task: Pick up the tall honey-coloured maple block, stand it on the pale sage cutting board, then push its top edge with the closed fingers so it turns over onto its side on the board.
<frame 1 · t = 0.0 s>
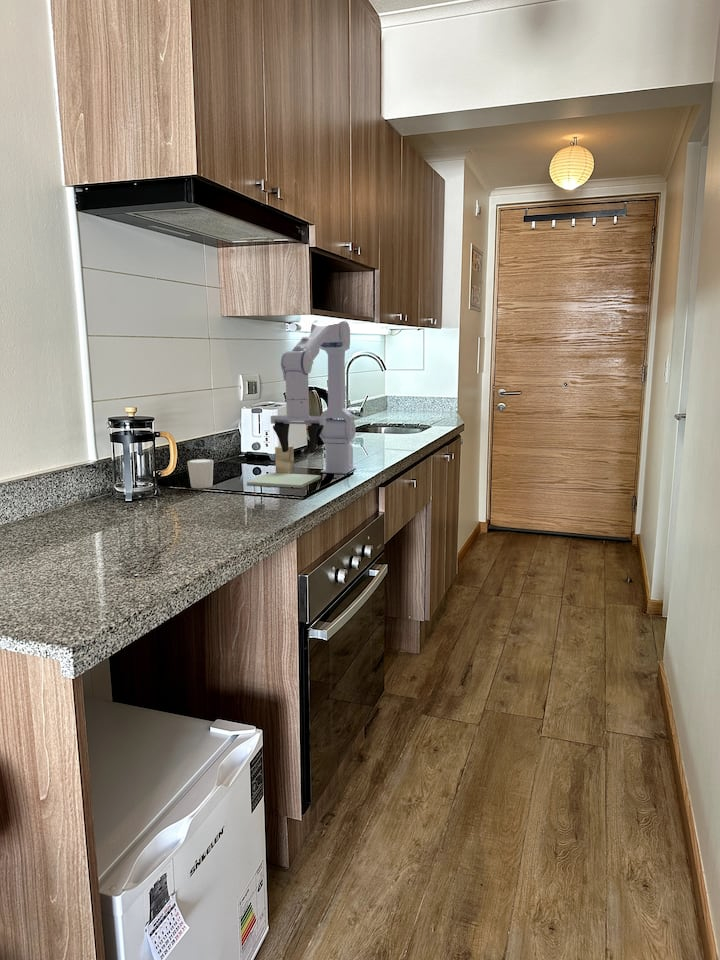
hand: (299, 452, 173), 10 cm above the worktop, tool pointing down, fingers open, 7 cm apart
maple block: (285, 473, 199), on the worktop
cutting board: (284, 481, 187), on the worktop
light grey cup: (201, 486, 182), on the worktop
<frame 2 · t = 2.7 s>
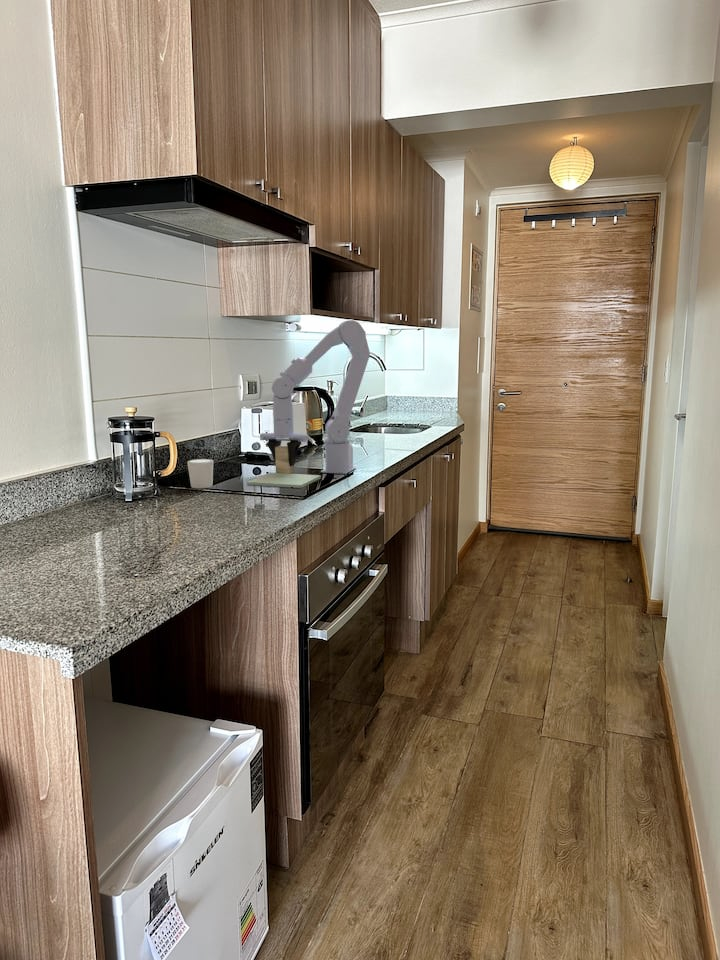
hand: (284, 465, 198), 2 cm above the worktop, tool pointing down, fingers closed on maple block, 4 cm apart
maple block: (285, 473, 199), on the worktop, touching gripper
everything else where it was.
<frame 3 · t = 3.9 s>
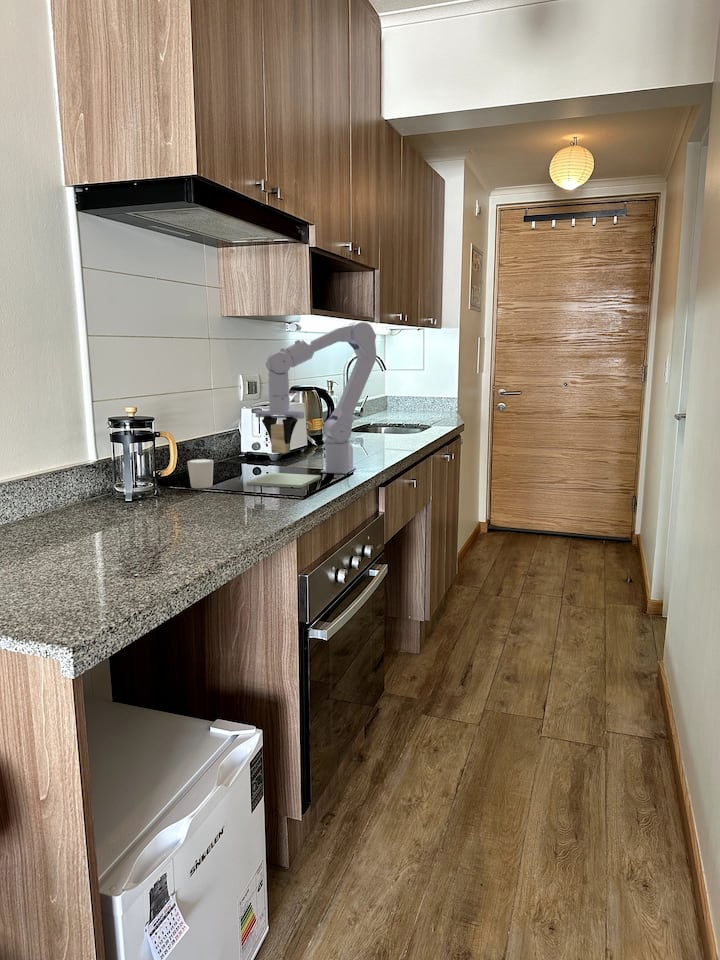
hand: (280, 443, 194), 9 cm above the worktop, tool pointing down, fingers closed on maple block, 4 cm apart
maple block: (280, 452, 195), point 7 cm above the worktop, touching gripper
everything else where it was.
when the fingers open (5 cm above the worktop, at t = 5.4 s): maple block drops 1 cm, resting on cutting board.
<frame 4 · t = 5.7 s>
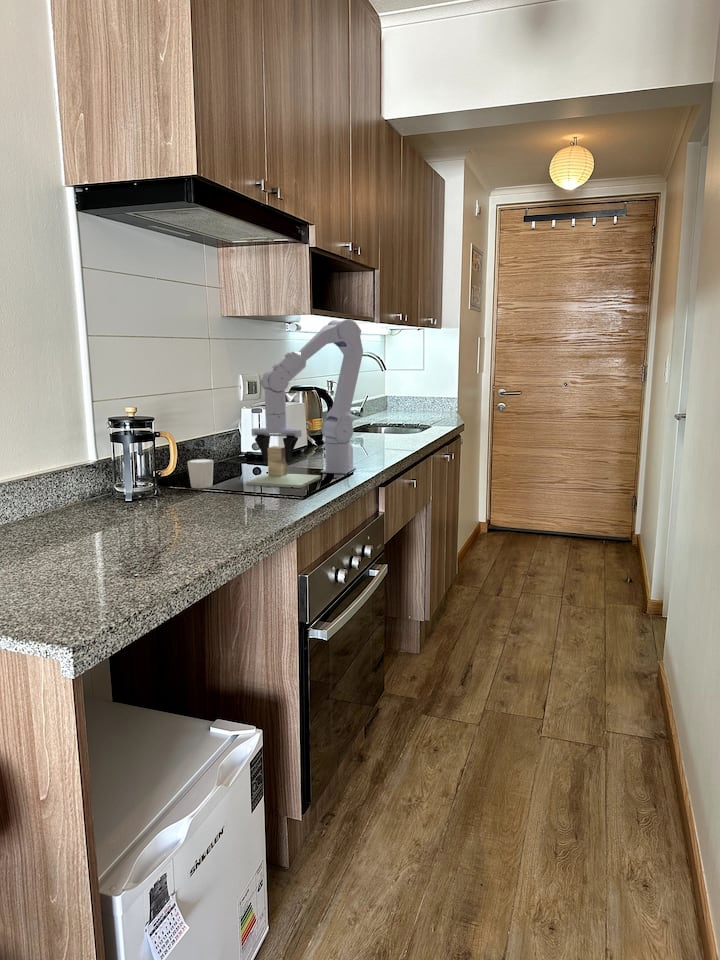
hand: (277, 461, 191), 5 cm above the worktop, tool pointing down, fingers open, 6 cm apart
maple block: (278, 475, 192), point 1 cm above the worktop, touching cutting board
everything else where it was.
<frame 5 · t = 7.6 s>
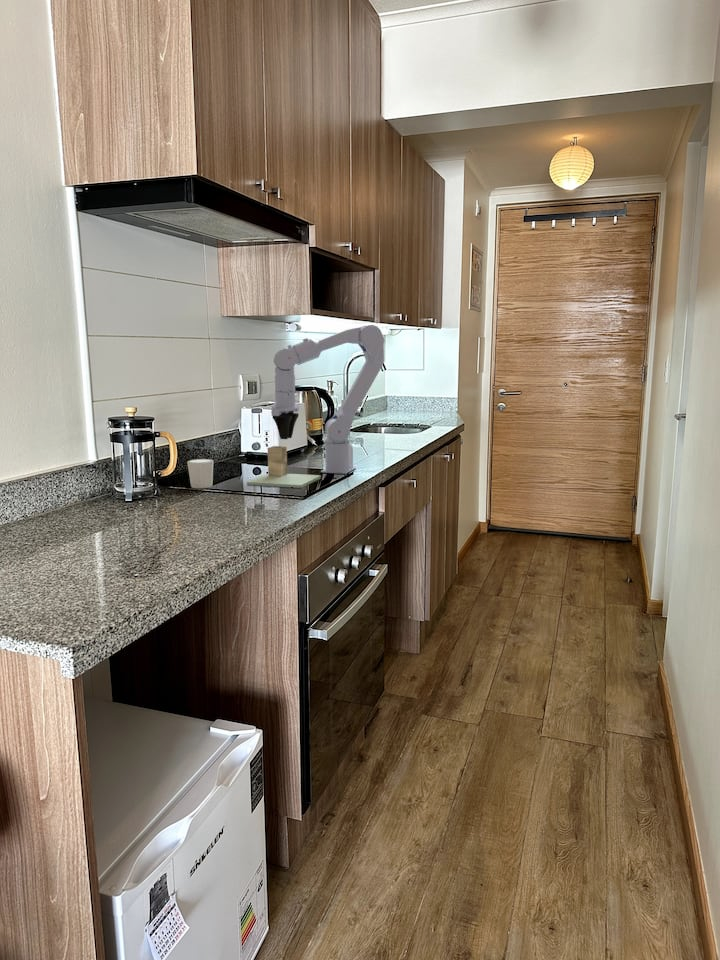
hand: (286, 438, 196), 10 cm above the worktop, tool pointing down, fingers closed
nothing on the worktop moved.
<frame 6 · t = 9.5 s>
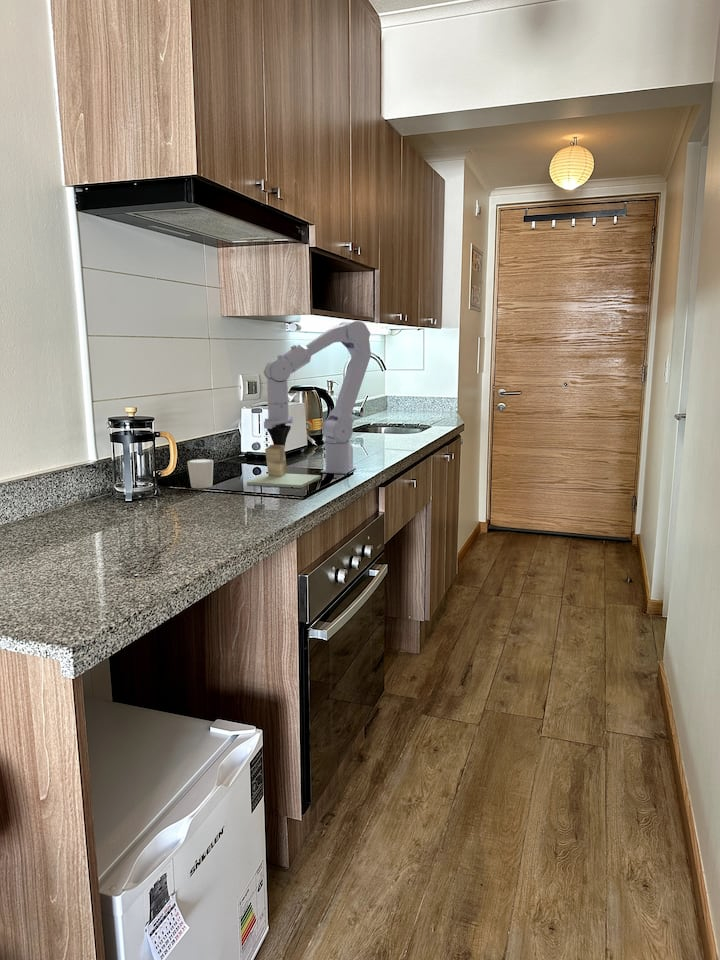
hand: (279, 451, 192), 7 cm above the worktop, tool pointing down, fingers closed
maple block: (277, 473, 192), point 1 cm above the worktop, tilted 11°, touching cutting board
everything else where it was.
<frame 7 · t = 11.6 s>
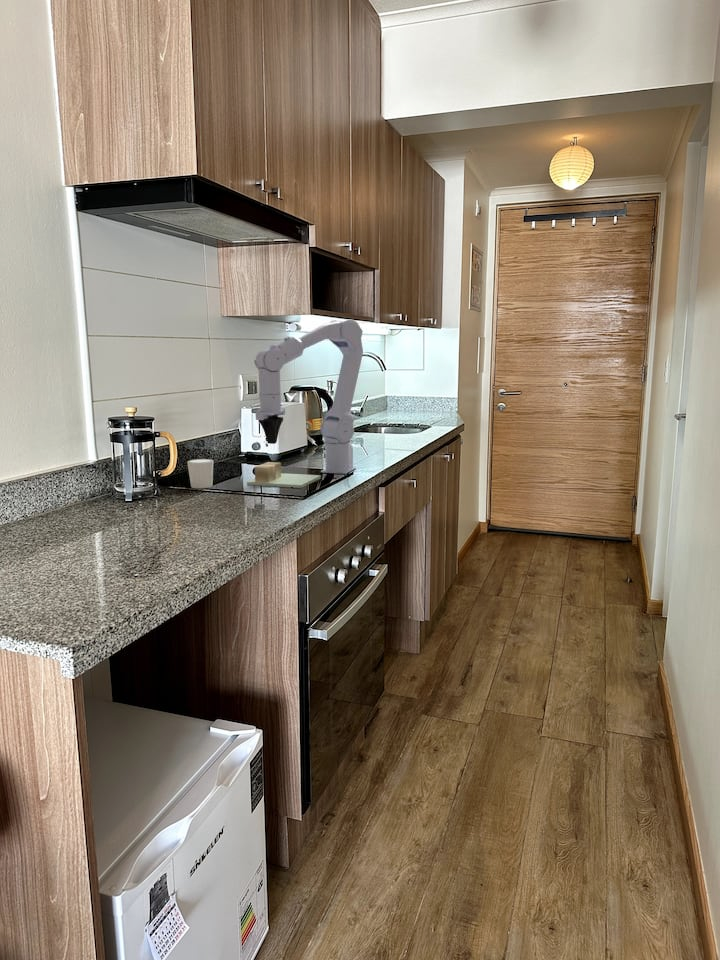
hand: (272, 443, 187), 10 cm above the worktop, tool pointing down, fingers closed
maple block: (274, 469, 190), point 3 cm above the worktop, tilted 90°, touching cutting board
everything else where it was.
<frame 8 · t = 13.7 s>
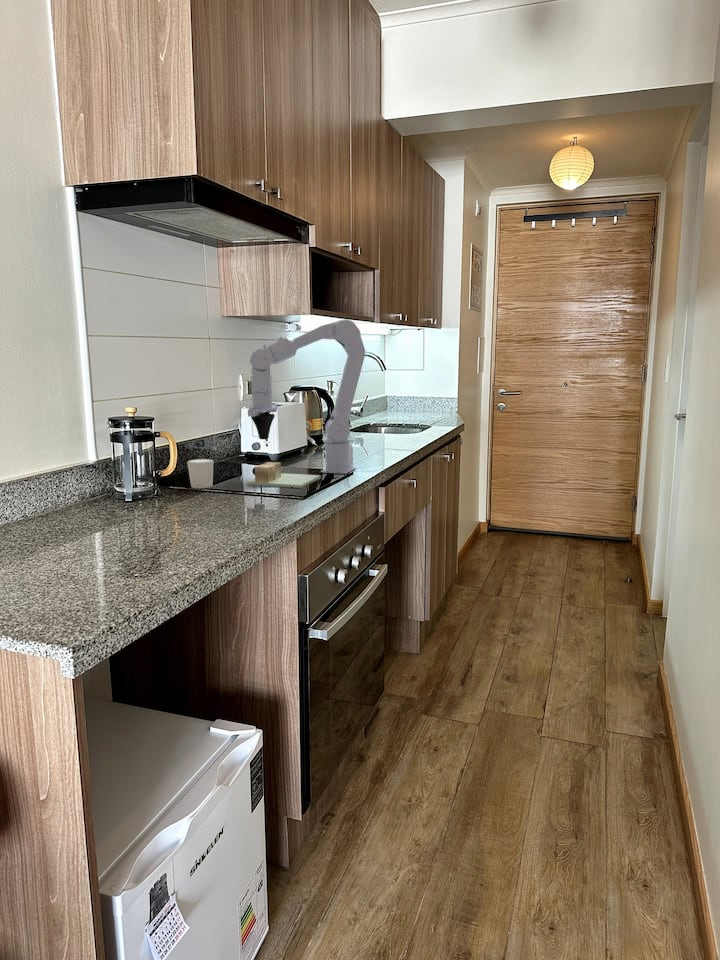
hand: (263, 439, 196), 10 cm above the worktop, tool pointing down, fingers closed
nothing on the worktop moved.
at the end: maple block tilted 90°; maple block inside the target area on the cutting board (2.9 cm from its centre), point 2.8 cm above the cutting board's base; the gripper is holding nothing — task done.
